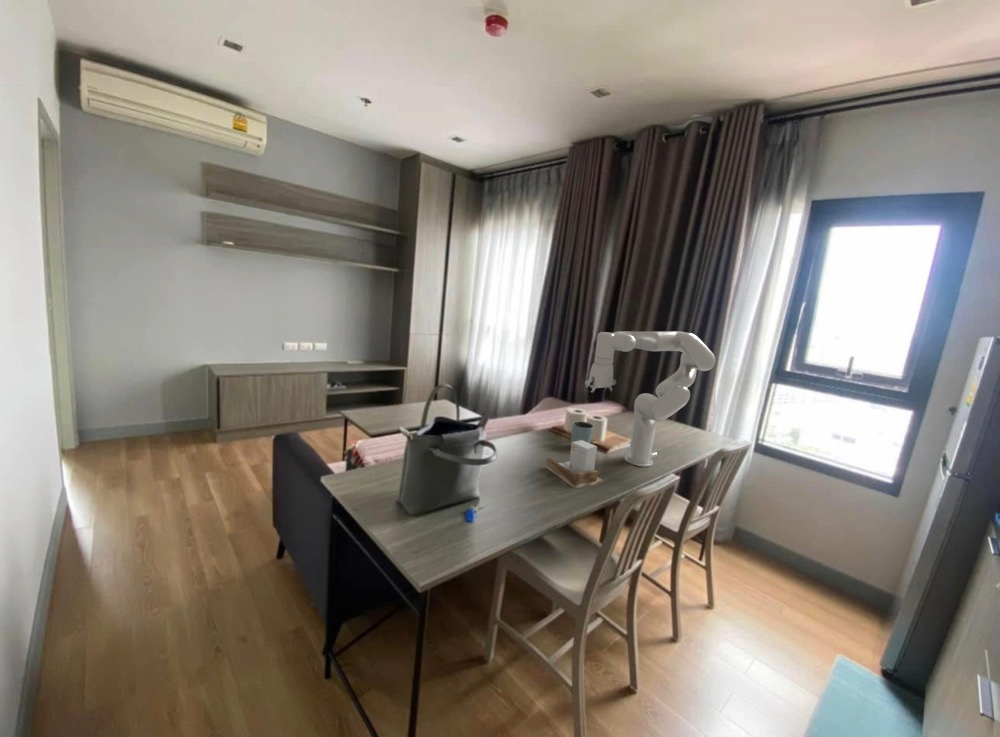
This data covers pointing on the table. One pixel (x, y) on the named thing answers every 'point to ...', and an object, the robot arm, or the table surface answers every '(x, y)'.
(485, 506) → the table surface
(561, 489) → the table surface
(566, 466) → the wooden tray
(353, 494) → the table surface
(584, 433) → the teal cup
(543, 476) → the table surface
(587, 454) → the small box
